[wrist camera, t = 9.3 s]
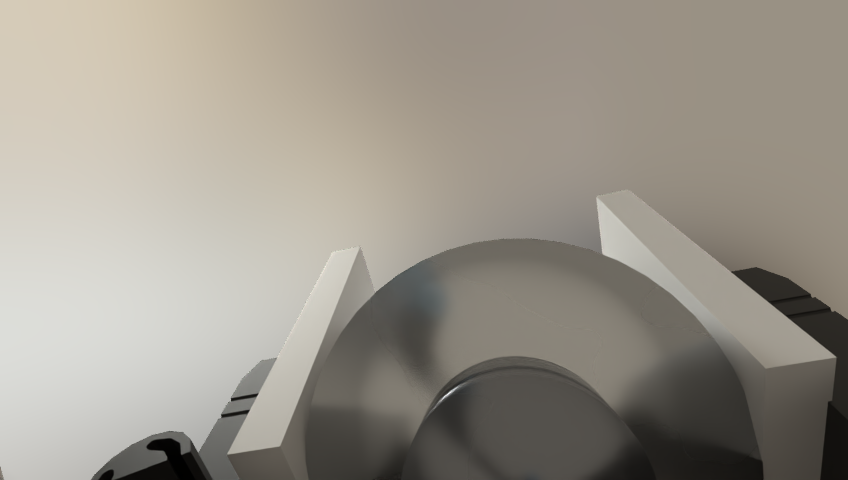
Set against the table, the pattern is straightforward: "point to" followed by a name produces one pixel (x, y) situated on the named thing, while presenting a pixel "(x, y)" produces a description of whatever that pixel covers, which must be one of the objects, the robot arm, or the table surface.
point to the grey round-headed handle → (528, 377)
